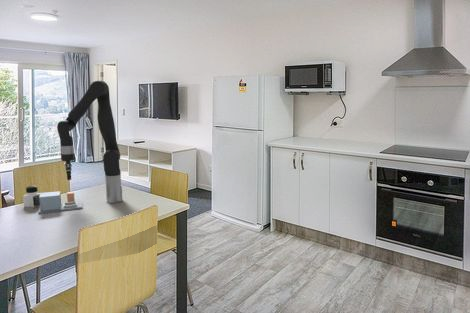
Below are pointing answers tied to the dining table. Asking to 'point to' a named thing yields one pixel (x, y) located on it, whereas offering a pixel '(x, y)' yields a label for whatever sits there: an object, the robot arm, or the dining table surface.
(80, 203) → the housing base
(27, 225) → the dining table surface
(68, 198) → the tan rectangular block
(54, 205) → the cover
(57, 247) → the dining table surface
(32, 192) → the medicine bottle
